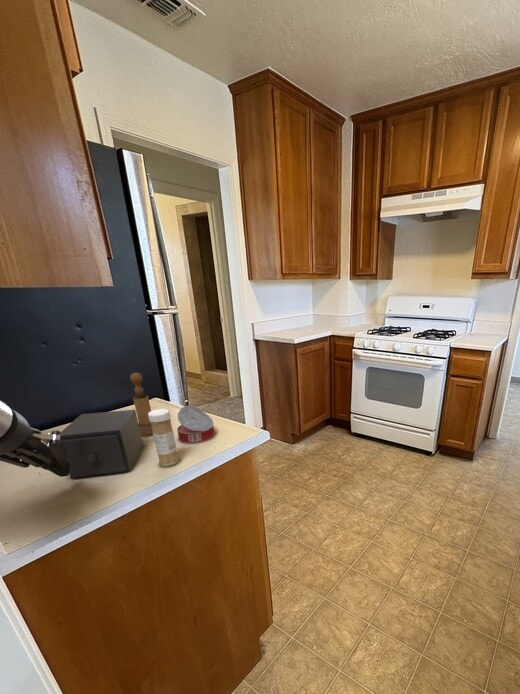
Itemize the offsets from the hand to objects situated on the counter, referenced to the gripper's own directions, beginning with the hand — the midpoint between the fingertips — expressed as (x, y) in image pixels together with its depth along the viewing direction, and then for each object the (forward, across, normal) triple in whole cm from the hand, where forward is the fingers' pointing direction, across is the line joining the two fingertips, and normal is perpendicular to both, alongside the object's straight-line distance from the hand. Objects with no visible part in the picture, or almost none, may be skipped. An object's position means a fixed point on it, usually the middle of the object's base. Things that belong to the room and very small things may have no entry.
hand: (65, 470), depth 74 cm
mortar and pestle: (+25, +10, +18) cm, 32 cm away
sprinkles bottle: (+9, +19, +2) cm, 21 cm away
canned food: (+20, +24, +13) cm, 34 cm away
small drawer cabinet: (+13, +4, +6) cm, 14 cm away
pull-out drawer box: (+10, +4, +5) cm, 12 cm away
